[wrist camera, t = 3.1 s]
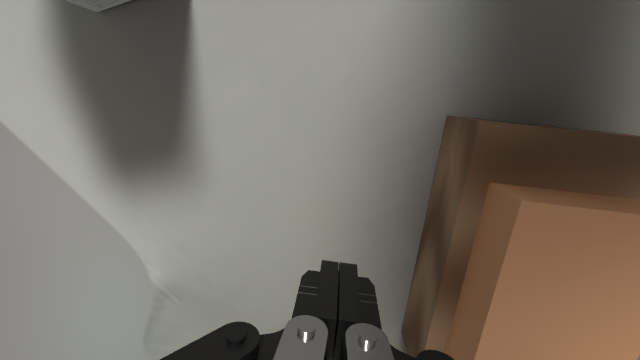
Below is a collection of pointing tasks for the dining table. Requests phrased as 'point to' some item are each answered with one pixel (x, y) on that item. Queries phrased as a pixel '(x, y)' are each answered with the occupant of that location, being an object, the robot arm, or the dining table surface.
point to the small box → (97, 4)
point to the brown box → (470, 192)
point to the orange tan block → (551, 278)
